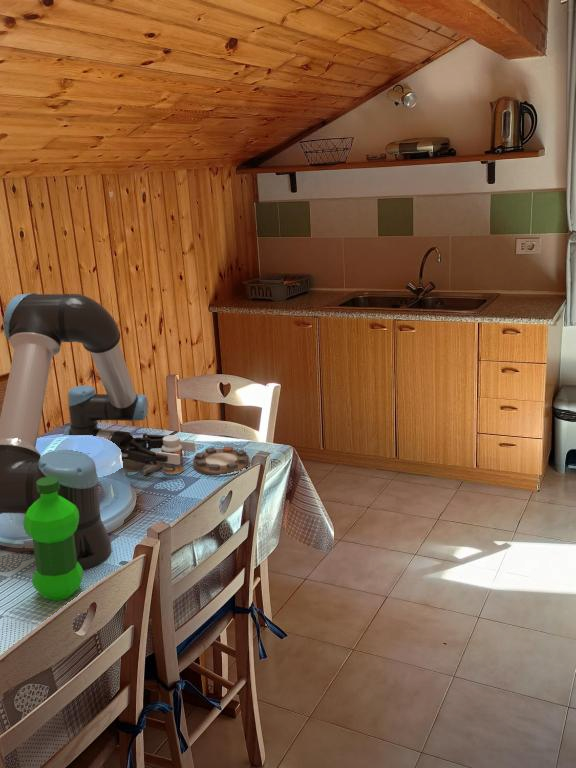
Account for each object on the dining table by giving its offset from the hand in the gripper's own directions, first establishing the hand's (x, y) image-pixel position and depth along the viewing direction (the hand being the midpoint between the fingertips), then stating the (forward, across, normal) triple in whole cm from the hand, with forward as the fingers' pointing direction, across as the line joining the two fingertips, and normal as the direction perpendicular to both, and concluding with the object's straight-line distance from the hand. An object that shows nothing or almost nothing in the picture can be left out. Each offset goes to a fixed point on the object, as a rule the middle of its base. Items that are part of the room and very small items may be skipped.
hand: (187, 453), depth 208 cm
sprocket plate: (+7, -8, -6) cm, 12 cm away
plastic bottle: (+1, +62, -6) cm, 62 cm away
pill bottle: (-5, 0, -6) cm, 8 cm away
